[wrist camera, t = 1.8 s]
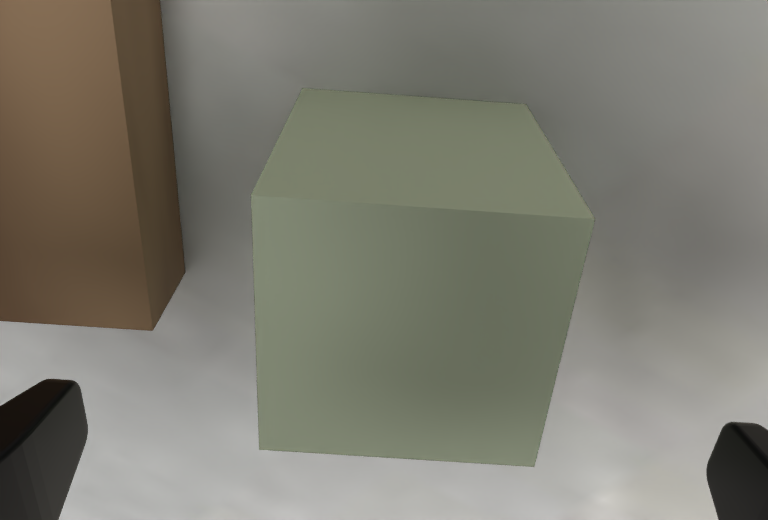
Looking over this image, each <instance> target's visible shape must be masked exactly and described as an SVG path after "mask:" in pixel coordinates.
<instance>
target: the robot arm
mask: <svg viewBox="0 0 768 520" xmlns="http://www.w3.org/2000/svg"><path fill="white" fill-rule="evenodd" d="M87 434H88V424H87V419H86V414H85V409H84V403H83V398H82V393H81V389H80V386H79V385H78V383H77V382H75V381H73V380H61V379H46V380H43V381H41V382H39V383H38V384H36V385H34V386H33V387H31V388H29V389H28V390H26V391H24V392H23V393H21V394H19V395H18V396H16V397H15V398H13V399H11V400H10V401H8V402H6V403H5V404H3V405H1V406H0V520H58V519H59V517H60V514H61V511H62V508H63V505H64V502H65V500H66V497H67V494H68V491H69V488H70V486H71V483H72V480H73V477H74V474H75V472H76V469H77V466H78V463H79V460H80V458H81V455H82V452H83V449H84V446H85V443H86V440H87ZM707 481H708V485H709V488H710V492H711V495H712V499H713V502H714V506H715V509H716V512H717V516H718V519H719V520H768V430H767V429H765V428H764V427H762V426H761V425H758V424H755V423H743V422H730V423H727V424H726V425H725V426H724V427H723V428H722V430H721V432H720V435H719V437H718V439H717V442H716V444H715V447H714V449H713V451H712V454H711V456H710V458H709V461H708V464H707Z"/></svg>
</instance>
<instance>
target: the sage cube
mask: <svg viewBox="0 0 768 520" xmlns="http://www.w3.org/2000/svg"><path fill="white" fill-rule="evenodd" d="M251 213H252V244H253V274H254V305H255V336H256V367H257V398H258V428H259V450H273V451H289V452H305V453H321V454H337V455H353V456H369V457H385V458H401V459H417V460H433V461H449V462H465V463H481V464H497V465H513V466H529V467H534V466H535V462H536V458H537V454H538V450H539V445H540V441H541V437H542V433H543V429H544V425H545V421H546V417H547V413H548V409H549V405H550V401H551V397H552V393H553V388H554V384H555V380H556V376H557V372H558V368H559V364H560V360H561V356H562V352H563V348H564V344H565V340H566V336H567V331H568V327H569V323H570V319H571V315H572V311H573V307H574V303H575V299H576V295H577V291H578V287H579V283H580V279H581V274H582V270H583V266H584V262H585V258H586V254H587V250H588V246H589V242H590V238H591V234H592V230H593V226H594V222H595V218H594V216H593V215H592V213H591V211H590V210H589V208H588V206H587V205H586V203H585V201H584V200H583V198H582V196H581V195H580V193H579V191H578V190H577V188H576V186H575V185H574V183H573V181H572V180H571V178H570V177H569V175H568V173H567V172H566V170H565V168H564V167H563V165H562V163H561V162H560V160H559V158H558V157H557V155H556V153H555V152H554V150H553V148H552V147H551V145H550V143H549V142H548V140H547V138H546V137H545V135H544V133H543V132H542V130H541V128H540V127H539V125H538V123H537V122H536V120H535V118H534V117H533V115H532V113H531V112H530V110H529V108H528V107H527V105H526V104H516V103H502V102H488V101H474V100H460V99H447V98H433V97H419V96H405V95H391V94H377V93H363V92H349V91H335V90H322V89H308V88H302V90H301V92H300V94H299V97H298V99H297V101H296V103H295V105H294V107H293V109H292V111H291V113H290V115H289V117H288V119H287V121H286V123H285V126H284V128H283V130H282V132H281V134H280V136H279V138H278V140H277V142H276V144H275V146H274V148H273V150H272V153H271V155H270V157H269V159H268V161H267V163H266V165H265V167H264V169H263V171H262V173H261V175H260V177H259V180H258V182H257V184H256V186H255V188H254V190H253V192H252V194H251Z"/></svg>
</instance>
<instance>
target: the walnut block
mask: <svg viewBox="0 0 768 520" xmlns="http://www.w3.org/2000/svg"><path fill="white" fill-rule="evenodd" d="M184 274H185V265H184V254H183V243H182V232H181V222H180V211H179V200H178V189H177V179H176V168H175V157H174V146H173V136H172V125H171V114H170V104H169V93H168V82H167V71H166V61H165V50H164V39H163V28H162V18H161V7H160V0H0V321H10V322H25V323H41V324H56V325H72V326H87V327H103V328H119V329H134V330H150V331H153V329H154V328H155V326H156V324H157V322H158V321H159V319H160V317H161V315H162V313H163V312H164V310H165V308H166V306H167V304H168V303H169V301H170V299H171V297H172V295H173V294H174V292H175V290H176V288H177V286H178V285H179V283H180V281H181V279H182V277H183V276H184Z"/></svg>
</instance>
